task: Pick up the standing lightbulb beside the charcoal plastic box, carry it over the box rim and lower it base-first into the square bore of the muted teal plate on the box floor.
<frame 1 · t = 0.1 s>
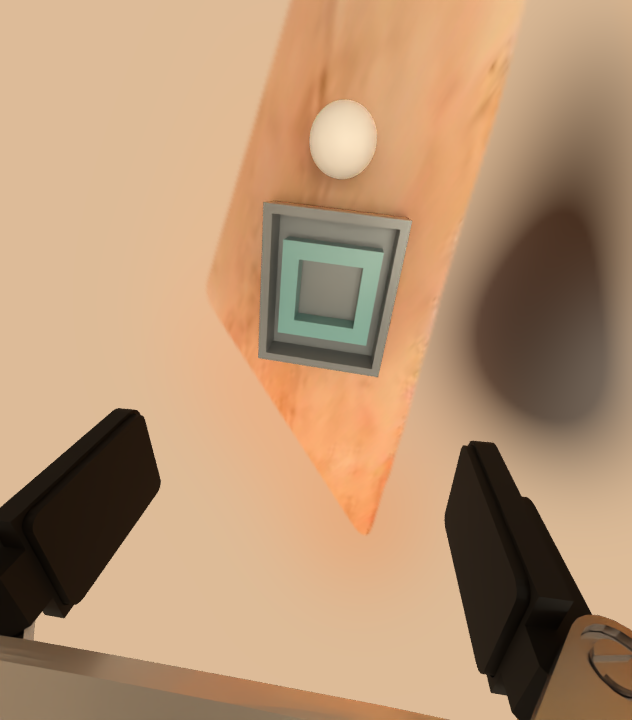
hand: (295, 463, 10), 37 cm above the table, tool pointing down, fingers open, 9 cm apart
lightbulb: (347, 150, 38), on the table
open box: (330, 287, 45), on the table
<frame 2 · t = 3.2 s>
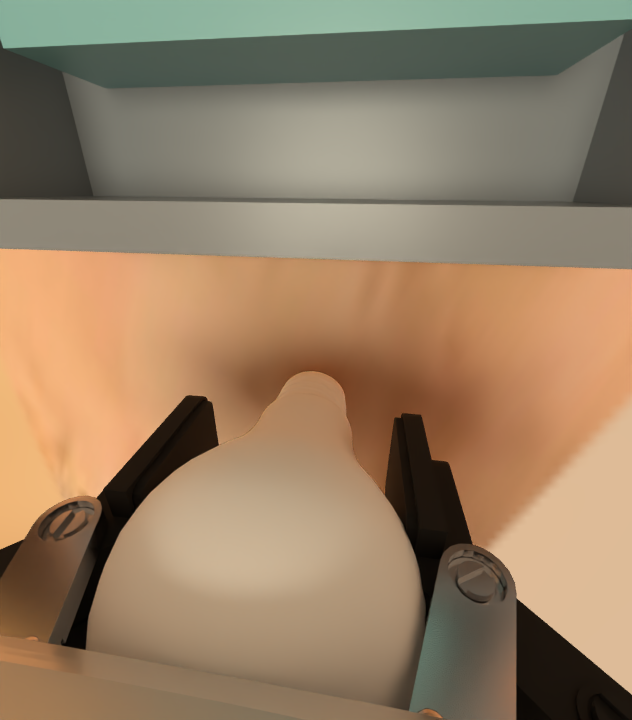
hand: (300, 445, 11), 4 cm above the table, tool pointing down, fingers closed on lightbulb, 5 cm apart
lightbulb: (316, 386, 14), on the table, touching gripper
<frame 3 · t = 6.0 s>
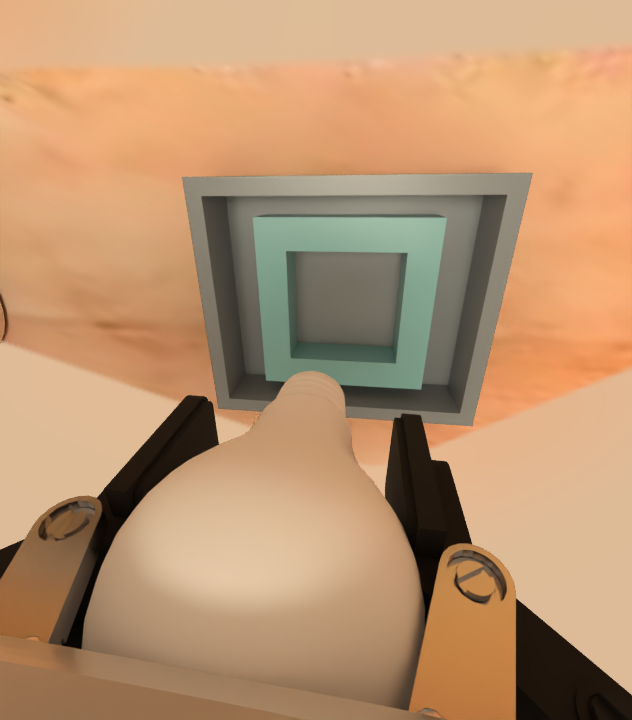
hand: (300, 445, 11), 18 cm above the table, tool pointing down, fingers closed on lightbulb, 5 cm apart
lightbulb: (315, 386, 14), point 14 cm above the table, touching gripper
open box: (346, 294, 27), on the table
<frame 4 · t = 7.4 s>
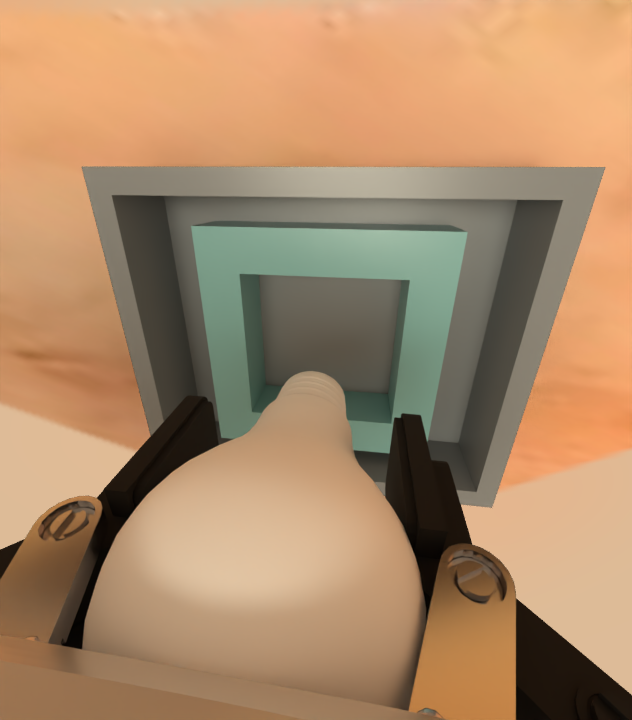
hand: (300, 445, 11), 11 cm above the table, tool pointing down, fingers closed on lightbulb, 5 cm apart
lightbulb: (316, 386, 14), point 7 cm above the table, touching gripper
open box: (328, 325, 20), on the table
when the fingers open (6 cm above the table, at t = 8.7 s): lightbulb drops 1 cm, resting on open box.
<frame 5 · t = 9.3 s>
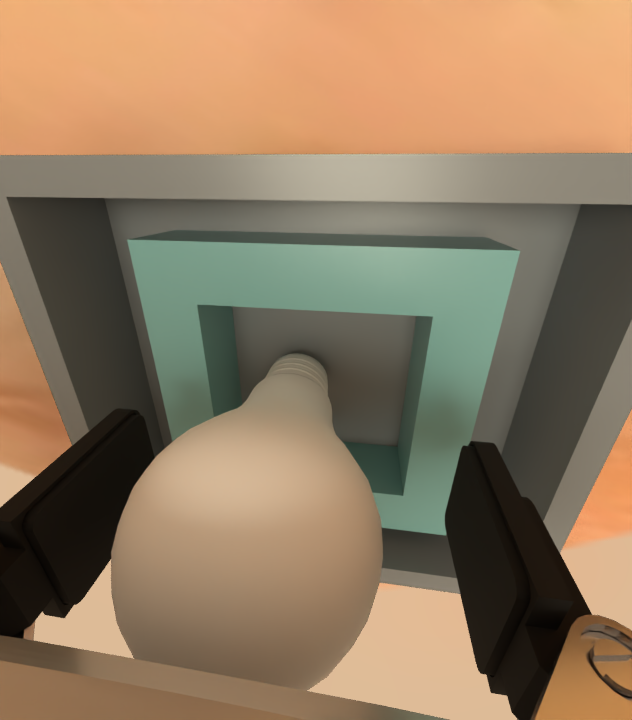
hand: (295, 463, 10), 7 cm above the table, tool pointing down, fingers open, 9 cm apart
lightbulb: (301, 367, 15), point 1 cm above the table, touching open box
open box: (323, 361, 16), on the table
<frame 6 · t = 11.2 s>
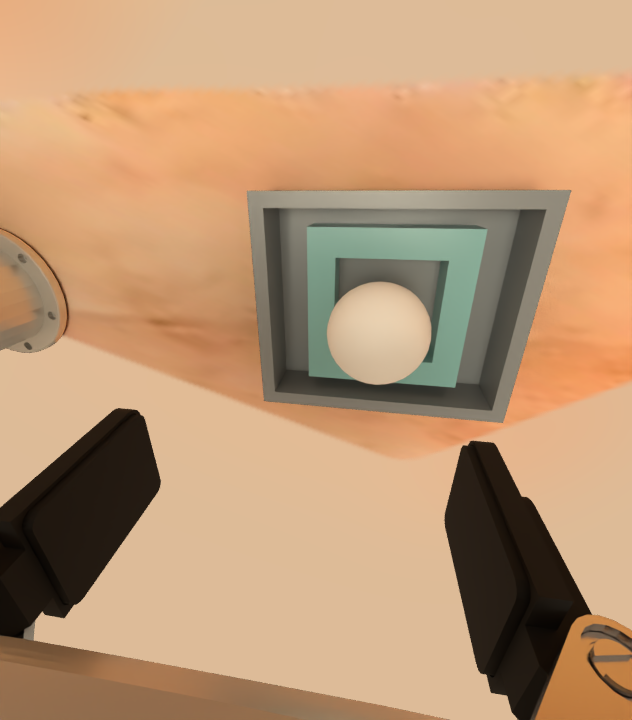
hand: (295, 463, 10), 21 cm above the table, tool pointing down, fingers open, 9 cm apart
lightbulb: (374, 299, 28), point 1 cm above the table, touching open box
open box: (385, 297, 29), on the table
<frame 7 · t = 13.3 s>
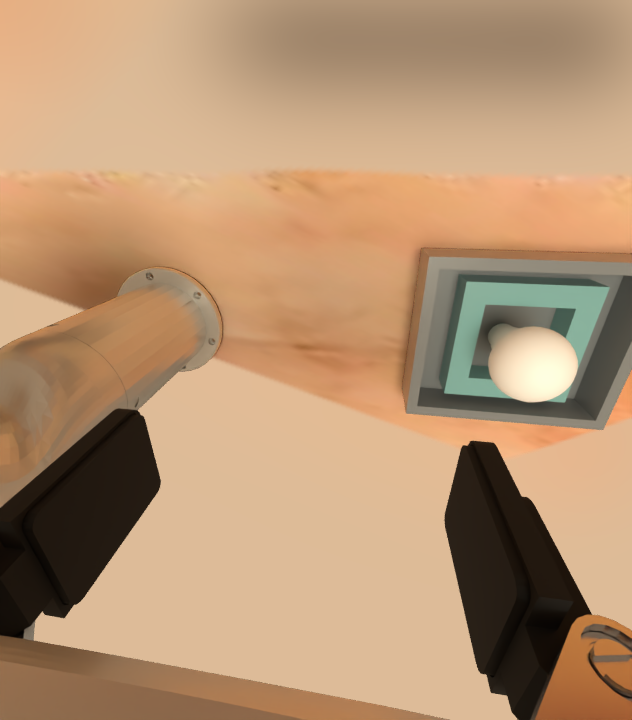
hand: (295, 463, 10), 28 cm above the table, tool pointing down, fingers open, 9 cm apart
lightbulb: (498, 332, 35), point 1 cm above the table, touching open box
open box: (503, 330, 36), on the table
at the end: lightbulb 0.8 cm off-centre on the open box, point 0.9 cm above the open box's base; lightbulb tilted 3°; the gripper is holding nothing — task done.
